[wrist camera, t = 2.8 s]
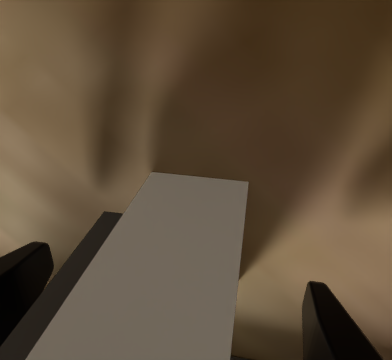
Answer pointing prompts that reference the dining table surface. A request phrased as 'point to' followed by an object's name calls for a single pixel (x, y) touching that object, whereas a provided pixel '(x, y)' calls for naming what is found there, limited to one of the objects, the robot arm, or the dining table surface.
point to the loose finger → (146, 280)
